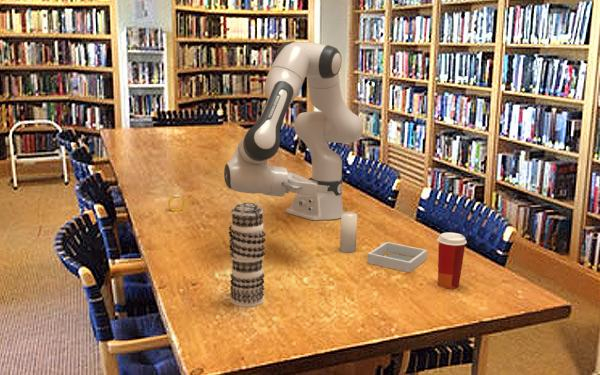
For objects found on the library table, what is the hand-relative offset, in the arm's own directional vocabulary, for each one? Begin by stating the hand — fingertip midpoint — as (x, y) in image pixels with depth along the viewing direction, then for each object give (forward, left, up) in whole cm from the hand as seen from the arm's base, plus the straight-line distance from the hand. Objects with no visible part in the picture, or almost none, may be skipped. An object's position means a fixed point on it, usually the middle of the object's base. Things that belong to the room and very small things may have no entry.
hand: (321, 186), depth 190 cm
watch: (-69, +9, -21) cm, 73 cm away
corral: (+23, +7, -21) cm, 32 cm away
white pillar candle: (+6, +7, -21) cm, 23 cm away
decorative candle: (+3, -42, -21) cm, 47 cm away
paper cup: (+42, -2, -21) cm, 47 cm away
